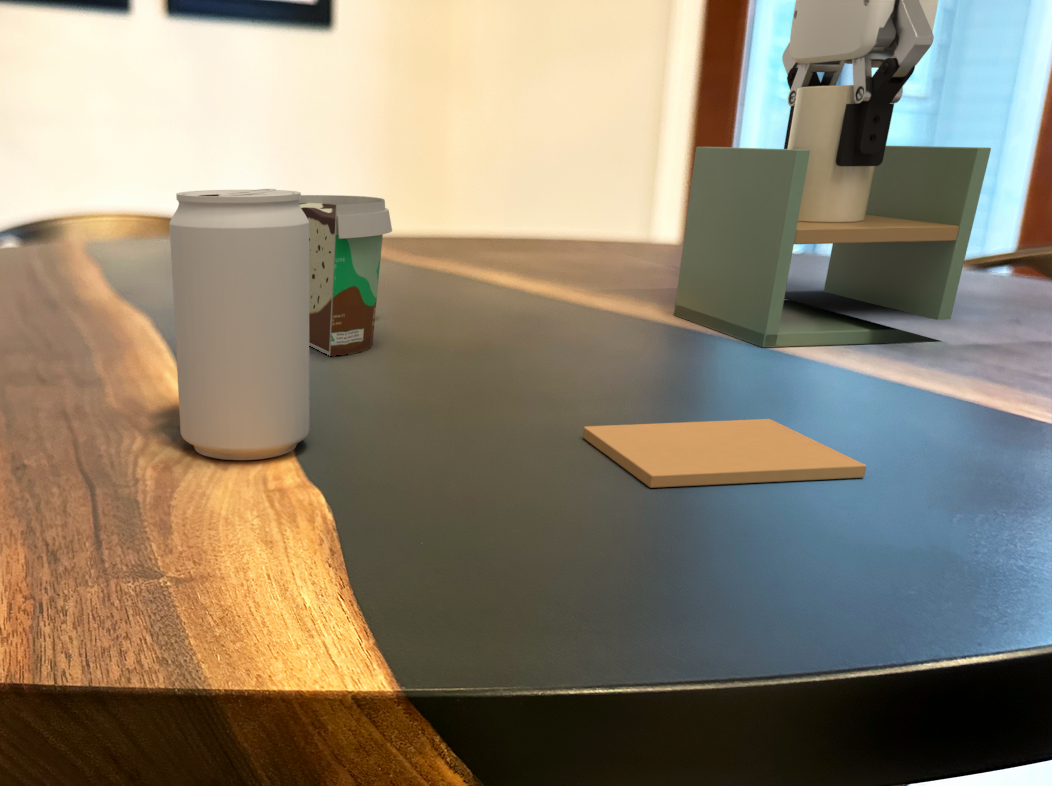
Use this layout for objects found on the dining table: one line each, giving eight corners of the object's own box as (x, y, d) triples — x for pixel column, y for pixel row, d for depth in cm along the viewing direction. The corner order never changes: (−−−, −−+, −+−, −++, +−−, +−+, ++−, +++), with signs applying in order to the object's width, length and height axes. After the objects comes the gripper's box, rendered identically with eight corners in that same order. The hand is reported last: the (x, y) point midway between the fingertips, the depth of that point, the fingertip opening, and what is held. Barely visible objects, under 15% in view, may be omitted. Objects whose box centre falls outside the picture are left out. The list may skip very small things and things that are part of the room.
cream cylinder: (833, 215, 79) (856, 88, 75) (882, 221, 73) (910, 84, 70) (760, 216, 78) (780, 88, 75) (804, 223, 73) (829, 85, 69)
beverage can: (168, 436, 52) (152, 188, 48) (285, 423, 54) (281, 184, 50) (200, 471, 47) (187, 195, 42) (329, 456, 49) (330, 191, 44)
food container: (419, 353, 71) (425, 202, 67) (338, 360, 69) (339, 205, 65) (347, 324, 82) (348, 192, 78) (275, 330, 80) (273, 195, 76)
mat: (768, 429, 52) (770, 418, 52) (864, 478, 45) (867, 465, 45) (581, 437, 51) (583, 426, 51) (650, 488, 44) (651, 475, 44)
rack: (830, 310, 86) (862, 145, 81) (945, 341, 73) (992, 147, 68) (673, 314, 85) (696, 146, 80) (762, 347, 72) (796, 149, 67)
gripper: (1035, -160, 60) (960, 168, 67) (855, -99, 76) (809, 160, 83) (917, -162, 59) (853, 169, 66) (760, -101, 75) (722, 162, 82)
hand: (829, 162), depth 74 cm, fingers closed on cream cylinder, 6 cm apart
